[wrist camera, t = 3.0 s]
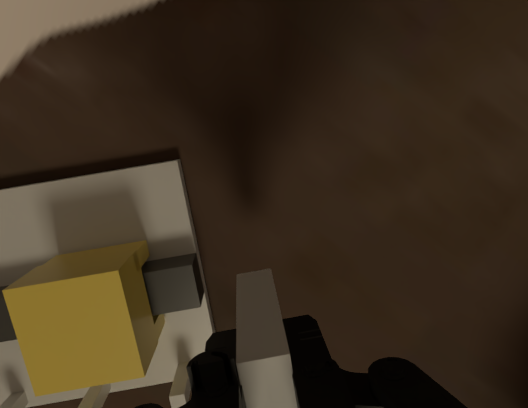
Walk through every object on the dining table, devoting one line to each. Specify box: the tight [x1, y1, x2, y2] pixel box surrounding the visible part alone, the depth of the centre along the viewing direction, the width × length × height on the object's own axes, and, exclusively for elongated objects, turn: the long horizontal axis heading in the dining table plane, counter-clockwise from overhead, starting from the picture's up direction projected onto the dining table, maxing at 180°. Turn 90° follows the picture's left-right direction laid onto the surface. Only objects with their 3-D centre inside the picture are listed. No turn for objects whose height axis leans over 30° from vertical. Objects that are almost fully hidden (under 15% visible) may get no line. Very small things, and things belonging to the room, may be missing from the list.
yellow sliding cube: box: [2, 240, 165, 397], centre depth 20 cm, size 5×5×5 cm
